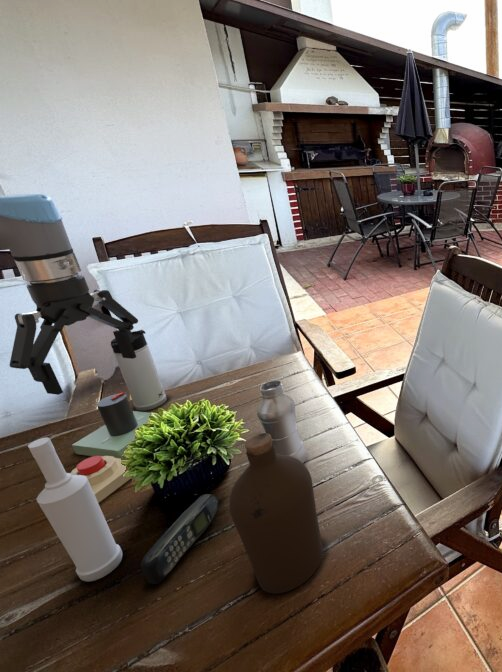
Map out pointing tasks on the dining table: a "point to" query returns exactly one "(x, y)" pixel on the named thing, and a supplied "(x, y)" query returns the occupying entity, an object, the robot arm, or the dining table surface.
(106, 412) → the timer dial
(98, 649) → the dining table surface
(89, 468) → the power button
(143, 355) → the travel mug
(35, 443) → the bottle
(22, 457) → the dining table surface
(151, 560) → the mobile phone
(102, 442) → the control panel
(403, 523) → the dining table surface
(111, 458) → the button block
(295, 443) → the plastic bottle
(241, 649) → the dining table surface
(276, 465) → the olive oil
